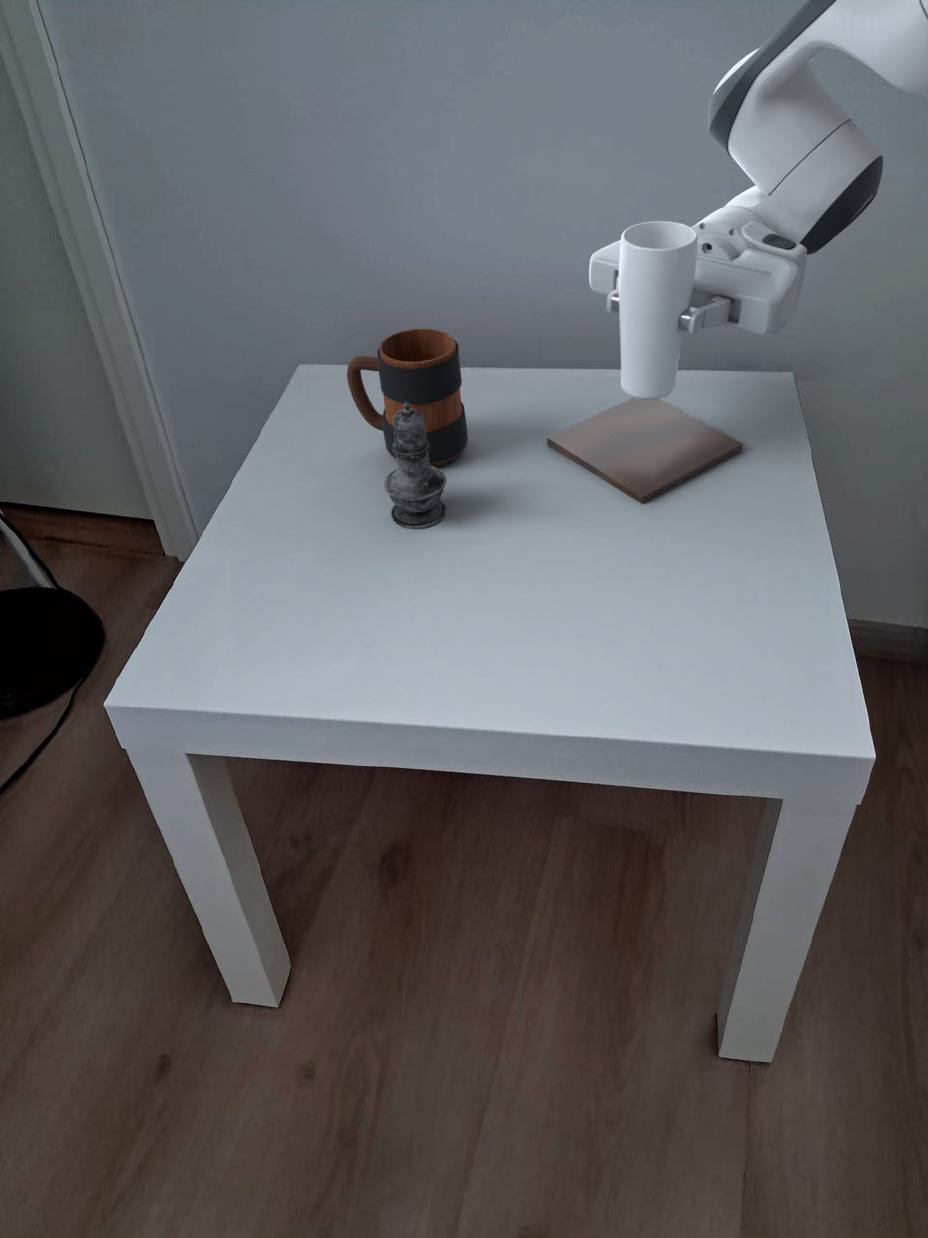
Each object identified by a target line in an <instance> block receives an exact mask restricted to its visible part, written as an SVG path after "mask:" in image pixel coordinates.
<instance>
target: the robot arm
mask: <svg viewBox="0 0 928 1238" xmlns="http://www.w3.org/2000/svg"><path fill="white" fill-rule="evenodd" d="M826 49H832V50H833V49H834V50H837V51H840V52H842V53H844V54H846V55H847V56H850V57H852V58H853V59H855V60H857V61H858V62H860V63H861V64H863V65H864V66H866V67H867V68H869V69H870V70H871V71H873V72H874V73H876V74H877V75H878V76H879V77H881V78H883V80H885V81H886V82H887V83H889V84H891V85H892V86H893V87H895V88H897V89H899V90H902V92H906V93H908V94H910V95H914V96H918V97H923V98H924V97H925V98H928V0H806V2H804V3H803V4H802V5H801V6H800V7H799V8H798V9H797V10H796V11H795V12H794V13H793V14H792V15H791V16H790V17H789V18H788V19H787V20H786V21H785V22H784V23H783V24H782V25H781V26H780V27H779V28H778V29H777V30H776V31H775V32H774V33H773V34H772V35H771V36H770V37H769V38H768V39H767V40H766V41H765V42H764V43H763V44H762V45H761V46H760V47H759V48H756V49H755V50H753V51H752V52H750V53H749V54H747V55H745V56H744V57H743V58H742V59H741V60H739V61H738V62H736V64H734V65H733V67H732V68H731V69H729V70H728V71H727V73H726V74H725V75H724V76H723V77H722V79H721V80H720V81H719V83H718V84H717V86H716V88H715V89H714V91H713V93H712V95H711V96H710V97H709V102H708V108H707V109H708V110H707V128H708V136H709V138H710V139H711V140H712V141H713V142H715V144H716V145H718V147H719V148H721V150H723V152H725V153H726V155H727V156H729V158H732V159H733V160H734V161H735V162H736V164H737V165H738V166H739V167H740V168H741V169H742V171H743V172H744V173H745V174H746V175H747V176H748V178H749V179H750V180H751V181H752V183H754V186H752V187H750V188H748V189H746V190H745V191H743V192H740V194H738V195H736V196H735V197H733V198H732V199H731V200H729V201H728V202H727V203H726V204H725V205H724V206H723V207H721V208H718V209H717V210H714V211H713V212H711V213H710V214H708V215H707V216H705V217H704V218H703V219H701V220H700V221H698V222H697V223H696V224H694V225H692V226H690V227H691V228H693V229H694V230H695V231H696V232H697V234H698V246H697V261H696V270H695V278H694V285H693V290H692V296H691V301H690V306H689V308H687V309H686V311H684V312H682V314H681V316H680V322H681V324H680V325H679V330H680V331H683V332H684V333H687V334H691V335H696V334H697V333H699V332H700V331H701V330H702V329H703V330H704V329H710V328H715V327H721V326H725V327H728V328H732V329H736V330H740V331H744V332H747V333H752V334H755V335H759V336H772V335H776V334H778V333H780V332H781V331H782V330H783V329H784V328H786V326H787V325H788V324H789V322H790V321H791V319H792V317H793V313H794V312H796V310H797V307H798V304H799V301H800V298H801V294H802V290H803V285H804V282H805V281H804V280H805V275H806V267H807V257H808V256H809V255H813V254H816V253H817V252H818V251H820V250H821V249H822V248H824V247H825V246H826V245H827V244H829V243H830V242H831V241H832V240H834V239H835V237H837V236H838V235H840V234H841V233H842V232H843V231H844V230H846V229H847V228H848V227H849V226H850V225H851V224H852V223H853V222H855V220H856V219H858V218H859V217H860V215H862V214H863V213H864V211H866V209H868V207H869V206H870V205H871V203H872V202H873V201H874V200H875V198H876V196H877V194H878V192H879V188H880V185H881V180H882V176H883V170H884V155H882V154H881V153H880V151H879V150H878V148H877V147H876V146H875V145H874V143H873V142H872V141H871V139H870V138H869V137H868V136H867V135H866V134H865V132H864V131H863V129H862V128H861V127H860V126H859V125H858V124H857V123H856V121H855V120H854V119H853V118H851V117H850V115H849V114H848V113H847V112H846V111H845V110H844V108H842V106H841V105H840V104H839V102H837V100H836V99H835V97H834V96H833V95H832V94H831V93H830V92H829V90H828V89H827V88H826V87H825V86H824V85H823V83H821V81H820V80H819V78H818V77H817V75H816V74H815V72H814V69H813V67H812V66H811V62H812V61H813V60H814V59H816V57H817V56H819V55H820V54H821V53H822V52H823V51H824V50H826ZM620 245H621V239H619V240H616V241H614V242H612V243H611V244H608V245H606V246H605V247H602V248H600V249H598V250H597V251H595V252H593V253H592V255H591V256H590V259H589V266H588V282H589V287H590V289H591V291H592V292H594V293H597V294H601V295H604V296H607V297H606V311H607V312H609V313H613V314H616V315H619V292H618V272H619V255H620Z"/></svg>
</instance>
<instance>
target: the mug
mask: <svg viewBox="0 0 928 1238" xmlns="http://www.w3.org/2000/svg"><path fill="white" fill-rule="evenodd" d="M362 371H370V372H378V376H379V383H380V390H381V392H382V394H383V395H382V396H383V403H384V409H383V412H382V414H381V413H380V412H378V411H377V409H376V408H375V406H374V405H373V403H372V402H371V399H370V396H369V395H368V393H367V390H366V388H365V385H364V382H363V377H362ZM346 379H347V385H348V388H349V392H350V394H351V397H352V400H353V402H354V404H355V406H356V408H357V409H358V412H359V413H360V415H361V416H362V418H363V419H364V420H365V421H366V422H367V424H369V426H371V427H373V428H374V429H376V430H378V431H381V432H383V437H384V443H385V448H386V451H387V452H388V453H389V455H390V456H392V458H394V461H396V455H395V454H394V453H393V452H392V445H393V444H394V443H395V438H394V430H393V417H394V415H395V414H396V413H397V412H398V411H400V410H401V409H404V407H403V405H404V404H405V402H408V403H409V404H410V405H411V406H410V408H414V409H417V410H419V411H420V412H421V413H422V414H423V416H424V419H425V430H426V439H427V440H429V441H430V443H431V449H430V451H429V463H430V466H434V467H436V468H438V467H442V466H445V465H447V464H450V463H451V462H453V461H455V460H456V459H458V458H459V457H460V456H461V454H462V452H463V451H464V449H465V448H466V446H467V443H468V440H469V439H468V438H469V437H468V424H467V423H468V422H467V417H466V411H465V410H466V409H465V404H464V403H463V402H462V396H461V387H462V384H463V382H462V381H463V379H462V371H461V362H460V351H459V344H458V342H457V341H456V340H455V338H454V337H453V336H452V335H450V334H449V333H447V332H446V331H442V330H439V329H433V328H412V329H406V330H401V331H398V332H395V333H393V334H391V335H389V336H387V337H386V338H384V339H383V340H382V341H381V342H380V344H379V346H378V349H377V356H371V355H357V356H355V357H354V358H352V359H351V360H350V361H349V363H348V365H347V370H346Z"/></svg>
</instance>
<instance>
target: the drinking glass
mask: <svg viewBox="0 0 928 1238" xmlns="http://www.w3.org/2000/svg"><path fill="white" fill-rule="evenodd" d="M691 227H692V226H689V225H686V224H685V223H680V222H676V221H670V220H669V221H668V220H656V221H655V220H654V221H644V222H640V223H636V224H634V225H631V226H629V227H627V228H626V229H625V230H624V231H622V234H621V236H620V240H621V245H620V255H619V272H618V292H619V314H618V316H619V317H618V318H619V343H620V344H619V345H620V346H619V347H620V348H619V349H620V375H619V376H620V378H619V383H620V384H619V385H620V388H621V389H622V391H623V392H624V393H625V394H626V395H627V396H629V397H631V398H637V399H642V400H655V399H658V400H661V399H662V398H664V397H667V396H669V395H670V394H671V393H673V391H674V390H675V388H676V384H677V377H678V376H677V375H678V367H679V362H680V356H681V351H682V346H683V340H684V337H685V332H683V331H680V330H679V325H680V324H681V322H680V316H681V314H682V312H684V311H686V309H687V308H689V306H690V301H691V296H692V290H693V285H694V278H695V270H696V261H697V246H698V234H697V232H696V231H695V230H694V229H693V228H691Z"/></svg>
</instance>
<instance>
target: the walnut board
mask: <svg viewBox="0 0 928 1238" xmlns="http://www.w3.org/2000/svg"><path fill="white" fill-rule="evenodd" d="M546 444H547V446H549V447H551V448H552V449H554V450H556V451H557V452H559V453H560V454H562V455H564V456H565V457H567V458H568V459H569V460H571V461H573V462H575V463H576V464H578V465H579V466H581V467H582V468H584V469H586V470H587V471H589V472H591V473H592V474H594V475H595V476H597V477H599V478H600V479H601V480H603V481H605V482H606V483H608V484H609V485H611V486H613V487H615V488H616V489H618V490H619V491H621V492H622V493H624V494H626V496H629V497H630V498H632V499H634V500H635V501H637V502H638V503H640V504H641V505H643V504H644V503H646V502H649V501H650V500H652V499H654V498H656V497H658V496H660V495H662V494H663V493H665V492H667V491H669V490H671V489H673V488H674V487H676V486H678V485H680V484H682V483H684V482H686V481H688V480H689V479H691V478H694V477H695V476H697V475H699V474H701V473H702V472H704V471H706V470H708V469H710V468H712V467H714V466H716V465H718V464H720V463H721V462H723V461H725V460H727V459H729V458H731V457H733V456H734V455H736V454H738V453H740V452H742V451H743V446H744V443H742V442H740V441H739V440H736V439H735V438H733V437H732V436H729V435H727V434H726V433H724V432H721V431H720V430H718V429H715V428H713V427H712V426H710V425H708V424H706V423H704V422H703V421H701V420H698V419H697V418H695V417H693V416H691V415H689V414H687V413H686V412H683V411H681V410H679V409H678V408H675V407H673V406H672V405H670V404H668V403H666V402H665V401H662V400H661V399H655V400H642V399H637V398H633V397H631V398H629V399H627V400H625V401H623V402H620V403H618V404H616V405H614V406H612V407H610V408H608V409H606V410H603V411H601V412H599V413H597V414H595V415H592V416H591V417H589V418H587V419H584V420H582V421H580V422H578V423H576V424H574V425H572V426H569V427H567V428H565V429H563V430H561V431H559V432H557V433H554V434H552V435H550V436H548V437H546Z"/></svg>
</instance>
